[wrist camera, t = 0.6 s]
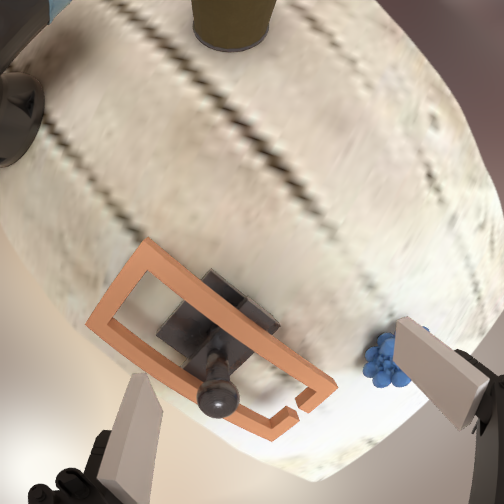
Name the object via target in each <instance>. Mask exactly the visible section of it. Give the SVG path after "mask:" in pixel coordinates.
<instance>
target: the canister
mask: <svg viewBox="0 0 504 504" xmlns="http://www.w3.org/2000/svg"><path fill="white" fill-rule="evenodd" d="M191 2H192V10H193V17H194V21H193V30H194V33H195V35H196V37H197V38H198V39H199V40H200V41H201V42H202V43H203V44H205V45H206V46H208V47H209V48H212V49H215V50H220V51H226V52H237V51H243V50H246V49H249V48H252V47H254V46H256V45H258V44H259V43H260V42H261V41H262V40H263V39H264V38H265V36H266V35H267V32H268V30H269V21H270V18H271V15H272V12H273V9H274V6H275V3H276V0H191Z"/></svg>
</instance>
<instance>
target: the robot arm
mask: <svg viewBox="0 0 504 504" xmlns="http://www.w3.org/2000/svg"><path fill="white" fill-rule="evenodd" d="M71 1H72V0H0V167H6V166H9V165H11V164H13V163H14V162H16V161H17V160H18V159H19V158H20V157H21V156H22V155H23V154H24V153H25V152H26V151H27V149H28V148H29V146H30V145H31V143H32V141H33V140H34V138H35V136H36V134H37V131H38V129H39V126H40V123H41V120H42V116H43V110H44V92H43V88H42V86H41V84H40V82H39V81H38V80H37V79H36V78H34V77H32V76H30V75H29V74H26V73H22V72H15V73H3V72H4V71H5V70H6V69H7V67H8V66H9V65H10V64H11V62H12V61H13V60H14V59H15V58H16V57H17V55H18V54H19V53H20V52H21V51H22V50H23V49H24V48H25V47H26V46H27V44H28V43H29V42H30V41H31V40H32V39H33V38H34V37H35V36H36V35H37V34H38V33H39V32H40V31H41V30H42V29H43V28H44V27H45V26H46V25H49V24H50V23H51V22H52V21H53V18H54V17H56V16H57V15H58V14H59V13H60V12H61V11H62V10H63V9H64V8H65V7H66V6H67V5H69V4H70V2H71ZM393 361H394V362H395V363H396V365H397V366H398V367H399V368H400V369H401V370H402V371H403V372H404V373H405V374H406V375H407V376H408V377H409V378H410V379H411V380H412V381H413V382H414V383H415V384H416V385H417V387H418V388H419V389H420V390H421V391H422V392H423V393H424V394H425V395H426V396H427V397H428V398H429V399H430V400H431V401H432V402H433V403H434V405H436V407H437V408H438V409H439V410H440V411H441V412H442V413H443V414H444V415H445V416H446V418H447V419H448V420H449V421H450V422H451V423H452V424H453V425H454V426H455V427H456V428H457V430H458V431H461V430H462V429H464V428H465V427H467V426H468V425H470V424H471V422H472V420H473V418H474V416H475V415H476V416H477V417H478V420H477V422H476V424H475V426H474V428H473V430H472V434H474V432H475V430H476V429H477V433H476V434H477V435H476V451H475V463H474V472H473V480H472V487H471V493H470V499H469V504H504V375H500V376H497V375H496V374H494V373H493V372H492V371H490V370H489V369H488V368H486V367H485V366H484V365H483V364H481V363H480V362H478V361H477V360H476V359H475V358H474V359H473V357H472V356H471V355H469V354H468V353H467V352H465V351H462V350H459V349H456V350H452V349H451V348H450V347H448V346H447V345H446V344H444V343H443V342H442V341H441V340H439V339H438V338H437V337H435V336H434V335H433V334H431V333H430V332H429V331H427V330H426V329H424V328H423V327H422V326H420V325H419V324H418V323H416V322H415V321H414V320H412V319H411V318H410V317H408V316H407V317H404V318H401V319H398V320H397V323H396V336H395V346H394V355H393ZM162 416H163V410H162V407H161V405H160V403H159V401H158V399H157V397H156V394H155V392H154V390H153V388H152V385H151V383H150V381H149V378H148V376H147V373H135V374H132V376H131V379H130V381H129V384H128V387H127V389H126V392H125V395H124V397H123V400H122V403H121V406H120V408H119V412H118V414H117V417H116V420H115V423H114V425H113V428H112V430H103V431H102V432H101V433H100V434H99V435H98V436H97V437H96V440H95V442H94V445H93V448H92V450H91V455H90V456H89V459H88V462H87V465H86V467H85V471H84V473H82V472H81V471H80V470H78V469H76V468H67V469H64V470H62V471H61V472H60V473H59V474H58V475H57V477H56V480H55V483H56V487H57V488H58V489H59V490H55V491H52V490H51V489H50V488H49V487H48V486H47V485H45V484H36V485H34V486H33V487H32V488H31V489H30V490H29V492H28V504H149V502H150V494H151V486H152V479H153V471H154V464H155V458H156V451H157V445H158V439H159V433H160V426H161V421H162Z"/></svg>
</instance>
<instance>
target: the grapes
mask: <svg viewBox="0 0 504 504" xmlns="http://www.w3.org/2000/svg"><path fill="white" fill-rule="evenodd" d="M422 327H423V328H424V329H426V330H427V331H429V329H428V328H426V327H424V326H422ZM429 332H430V331H429ZM395 336H396V330H395V333H394V335H393V334H392V333H387V332H386V333H383V334H382V335H380V336H379V338H378V340H377V344H378V346H379V347H377V346H374V347H371V348H369V349H368V350H367V351H366V353H365V358H366V360H367V361H368V363H366V364H365V365H364V367H363V374H364V376H366V377H367V378H373V380H372V381H373V384H374V386H376V387H377V388H384V387H387V386H388V385H389V384H390V383H391V382H392V384H393V385H394V386H396V387H404V386H406V385H408V384H409V383H410V382H411V379H410V378H409V377H408V376H407V375H406V374H405V373H404V372H403V371H402V370H401V369H400V368H399V367H398V366H397V365H396V363H395V362H394V361H393V355H394V346H395Z"/></svg>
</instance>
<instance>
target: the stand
mask: <svg viewBox="0 0 504 504" xmlns="http://www.w3.org/2000/svg"><path fill="white" fill-rule="evenodd" d="M201 281H202V282H203V283H204V284H206V285H207V286H208V287H209V288H211V289H212V290H213V291H215V292H216V293H217V294H218V295H220V296H221V297H222V298H223V299H225V300H226V301H227V302H229V303H230V304H231V305H232V306H234V307H235V308H236V309H238V310H239V311H240V312H241V313H243V314H244V315H245V316H247V317H248V318H249V319H251V320H252V321H253V322H255V323H256V324H257V325H259V326H260V327H261V328H263V329H264V330H265V331H267V332H268V333H269V334H271V335H272V334H273V333H274V332H275V331H276V330H277V329H278V328H279V327H280V323H279V322H278V321H277V320H276V319H274V317H273V316H272V315H271V314H270V313H269V312H267V311H266V310H265V309H264V308H262V307H261V306H260V305H258V304H257V303H256V302H255V301H253V300H252V299H251V298H250V297H248V296H245V295H244V294H242V293H241V292H240V291H239V290H237V289H236V288H235V287H234V286H232V285H231V284H230V283H229V282H228V281H226V280H225V279H224V278H223V277H221V276H220V275H219V274H218V273H216V272H215V271H214V270H213V269H212V268H211V269H210V270H209V271H208V272H207V274H206V275H205V276H204V277H203V278H202V279H201ZM156 336H157V337H159V338H160V339H162V340H163V341H164V342H166V343H167V344H168V345H170V346H171V347H173V348H174V349H175V350H177V351H178V352H180V353H181V354H183V355H184V356H185V357H187V359H186V361H185V362H184V363H183V364H182V365H181V366H180V367H181V368H182V369H184V370H185V371H187V372H188V373H190V374H191V375H193V376H194V377H196V378H197V379H199V380H201V381H202V382H203V383H202V384H201V385H200V387H199V389H198V391H197V395H196V400H197V404H198V406H199V408H200V410H201V411H202V412H203V413H204V414H206V415H207V416H209V417H212V418H218V419H219V418H225V417H228V416H230V415H232V414H233V413H234V412H235V411H236V409H237V408H238V406H239V402H240V395H239V392H238V389H237V388H236V386H235V385H234V384H233V383H232V382H230V377H229V376H230V375H231V374H232V373H233V372H234V371H235V370H237V369H238V368H239V367H240V366H241V365H242V364H243V363H244V362H245V361H246V360H247V359H248V358H249V357H250V356H251V355H252V354H253V353H254V352H255V351H253V350H252V349H250V348H249V347H247V346H246V345H245V344H243V343H242V342H240V341H239V340H237V339H236V338H235V337H233V336H232V335H230V334H229V333H228V332H226V331H225V330H224V329H222V328H221V327H219V326H218V325H217V324H215V323H214V322H213V321H211V320H210V319H209V318H207V317H206V316H205V315H203V314H202V313H201V312H199V311H198V310H197V309H196V308H194V307H193V306H192V305H190V304H189V303H188V302H186V301H185V300H183V301H182V303H181V304H180V305H179V306H178V307H177V308H176V310H175V311H174V312H173V313H172V314H171V315H170V317H169V318H168V319H167V320H166V321H165V323H164V324H163V325H162V326H161V327H160V328H159V330H158V331H157V333H156Z"/></svg>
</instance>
